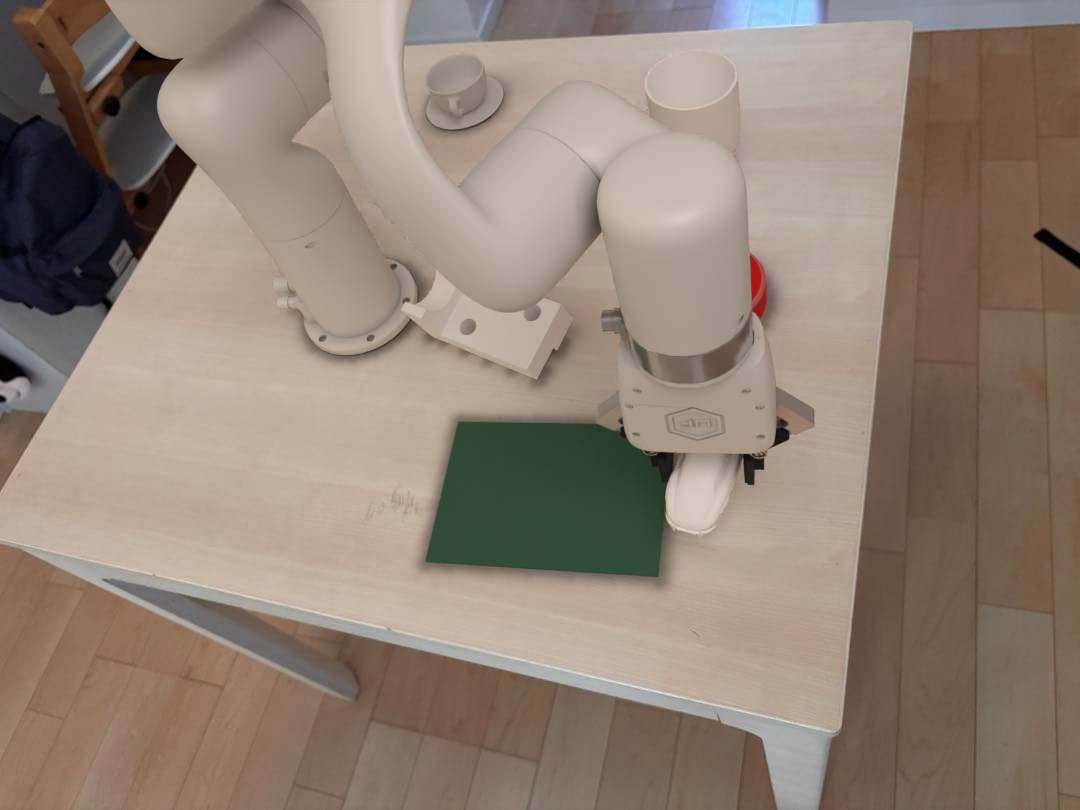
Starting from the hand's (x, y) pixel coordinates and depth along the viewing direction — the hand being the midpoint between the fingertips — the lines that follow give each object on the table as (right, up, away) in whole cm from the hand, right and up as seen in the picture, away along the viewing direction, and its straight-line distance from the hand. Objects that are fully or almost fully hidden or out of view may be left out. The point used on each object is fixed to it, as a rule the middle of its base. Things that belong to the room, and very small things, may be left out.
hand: (708, 465), depth 67 cm
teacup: (-22, +42, +41) cm, 63 cm away
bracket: (-17, +11, +20) cm, 28 cm away
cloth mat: (-12, -3, +9) cm, 15 cm away
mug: (+5, +31, +26) cm, 41 cm away
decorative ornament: (+4, +15, +16) cm, 22 cm away
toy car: (0, 0, +1) cm, 1 cm away
